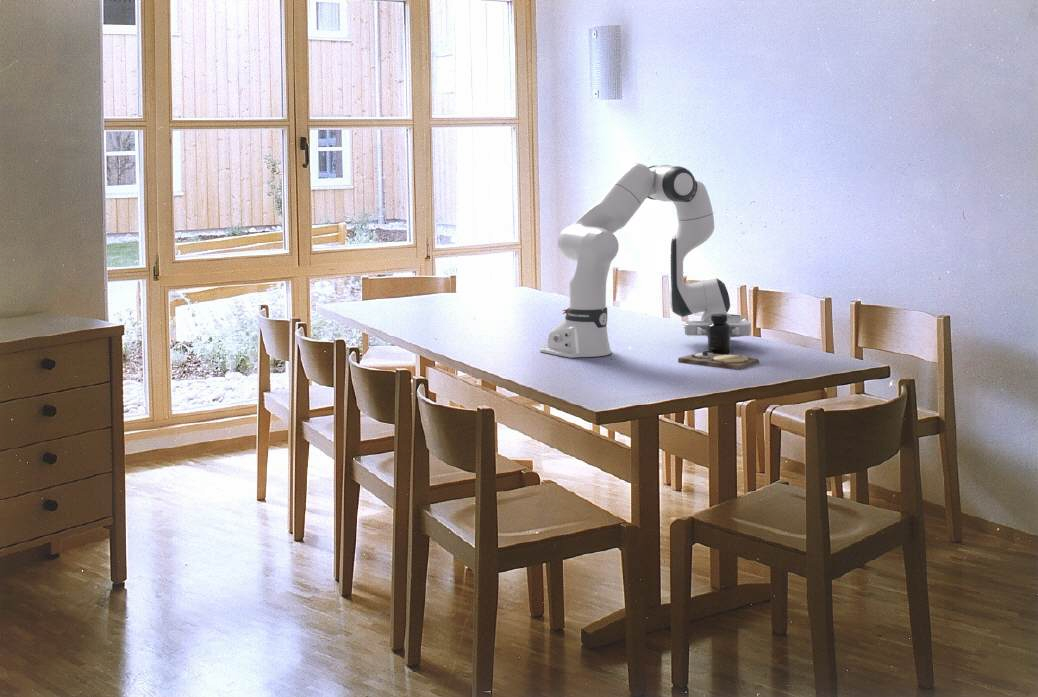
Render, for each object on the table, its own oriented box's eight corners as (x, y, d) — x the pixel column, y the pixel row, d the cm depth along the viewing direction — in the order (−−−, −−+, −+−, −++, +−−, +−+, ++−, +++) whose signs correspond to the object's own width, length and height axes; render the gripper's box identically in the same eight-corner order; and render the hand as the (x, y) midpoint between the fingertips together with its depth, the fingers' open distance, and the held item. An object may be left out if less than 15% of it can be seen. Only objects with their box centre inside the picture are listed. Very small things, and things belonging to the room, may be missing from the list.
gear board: (678, 362, 356) (678, 352, 355) (699, 355, 365) (700, 346, 364) (738, 369, 343) (738, 359, 343) (759, 363, 352) (759, 352, 352)
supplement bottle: (717, 351, 372) (718, 312, 370) (735, 354, 367) (735, 314, 365) (702, 354, 368) (703, 315, 366) (720, 357, 363) (720, 317, 361)
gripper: (683, 315, 381) (684, 322, 368) (749, 315, 379) (752, 322, 365) (682, 335, 382) (684, 342, 369) (748, 335, 380) (752, 343, 366)
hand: (718, 332), depth 367 cm, fingers open, 8 cm apart
